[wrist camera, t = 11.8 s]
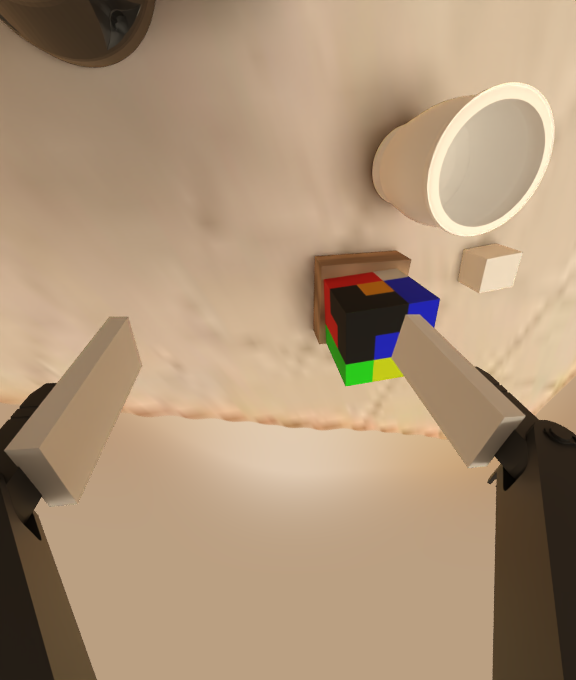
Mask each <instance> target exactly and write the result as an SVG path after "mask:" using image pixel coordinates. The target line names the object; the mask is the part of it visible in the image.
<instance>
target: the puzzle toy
mask: <svg viewBox="0 0 576 680" xmlns="http://www.w3.org/2000/svg"><path fill="white" fill-rule="evenodd" d="M439 301H440V298H438V297H437V296H435V295H434V294H433V293H431V292H430V291H428V290H427V289H426V288H424V287H423V286H421V285H420V284H418V283H417V282H416V281H414V280H413V279H411V278H410V277H409V276H407V275H406V274H404V273H403V272H402V271H400V270H399V269H397V268H396V269H389V270H383V271H376V272H369V273H363V274H356V275H349V276H343V277H336V278H329V279H324V303H325V327H326V343H327V345H328V348H329V350H330V352H331V354H332V357H333V359H334V361H335V363H336V366H337V368H338V370H339V372H340V375H341V377H342V379H343V382H344V384H345V386H351V385H356V384H362V383H368V382H374V381H380V380H386V379H392V378H398V377H404V375H403V374H402V373H401V371H400V370H399V368H398V367H397V365H396V364H395V362H394V361H393V360H392V358H391V357H392V354H393V351H394V348H395V345H396V342H397V339H398V336H399V333H400V330H401V327H402V324H403V321H404V318H405V315H409V314H420V315H421V316H422V317H423V318H424V319H425V320H426V321H427V322H428V323H429V324H430V325H431V326H432V327H433V328H434V326H435V321H436V316H437V311H438V306H439Z"/></svg>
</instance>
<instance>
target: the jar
mask: <svg viewBox="0 0 576 680" xmlns="http://www.w3.org/2000/svg"><path fill="white" fill-rule="evenodd" d="M553 143H554V119H553V114H552V110H551V108H550V105H549V103H548V101H547V100H546V98H545V97H544V96H543V94H542V93H541V92H540V91H538V90H537V89H536V88H534V87H532V86H530V85H528V84H524V83H518V82H511V83H504V84H500V85H497V86H494V87H492V88H489V89H487V90H484V91H482V92H480V93H478V94H477V95H469V96H462V97H457V98H453V99H450V100H447V101H444V102H441V103H439V104H437V105H435V106H433V107H431V108H429V109H427V110H426V111H424V112H422V113H421V114H420V115H418V116H417V117H415V118H413V119H412V120H410V121H409V122H408V123H406V124H404V125H402V126H399V127H397V128H396V129H394V130H393V131H391V132H390V133H389V134H388V135H387V136H386V137H385V138H384V140H383V141H382V142H381V144H380V146H379V147H378V149H377V152H376V154H375V157H374V161H373V167H372V178H373V183H374V186H375V189H376V191H377V193H378V194H379V195H380V196H381V198H383V199H384V200H385V201H387V202H389V203H391V204H392V205H393V206H394V207H395V208H397V209H398V210H399V211H400V212H401V213H403V214H404V215H405V216H407V217H408V218H410V219H412V220H414V221H416V222H418V223H421V224H424V225H428V226H432V227H440V228H441V229H442V230H444V231H446V232H448V233H451V234H454V235H459V236H476V235H480V234H484V233H487V232H489V231H491V230H493V229H495V228H497V227H499V226H501V225H502V224H504V223H505V222H506V221H508V220H509V219H510V218H512V217H513V216H514V215H515V214H516V213H517V212H518V211H519V210H520V209H521V208H522V207H523V206H524V205H525V204H526V202H527V201H528V200H529V199H530V197H531V196H532V195H533V193H534V192H535V190H536V188H537V187H538V185H539V183H540V182H541V180H542V178H543V176H544V174H545V171H546V169H547V166H548V164H549V161H550V157H551V154H552V149H553Z"/></svg>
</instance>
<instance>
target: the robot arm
mask: <svg viewBox="0 0 576 680" xmlns="http://www.w3.org/2000/svg"><path fill="white" fill-rule="evenodd" d="M154 6H155V0H0V19H1V20H2V21H3V22H4V23H5V24H7V25H8V26H9V27H10V28H11V29H12V30H13V31H15V32H16V33H17V34H19V35H20V36H21V37H22V38H24V39H25V40H27V41H28V42H30V43H31V44H33V45H35V46H36V47H38V48H40V49H42V50H43V51H45V52H47V53H49V54H51V55H52V56H54V57H56V58H58V59H61V60H63V61H66V62H68V63H71V64H75V65H79V66H84V67H104V66H109V65H112V64H115V63H117V62H119V61H121V60H123V59H124V58H126V57H127V56H129V55H130V54H131V53H132V52H133V51H134V50H135V49H136V48H137V47H138V45H139V44H140V43H141V41H142V39H143V38H144V36H145V34H146V32H147V30H148V28H149V25H150V22H151V19H152V15H153V11H154ZM391 358H392V360H393V361H394V362H395V364H396V365H397V367H398V368H399V370H400V371H401V373H402V374H403V375H404V377H405V378H406V380H407V381H408V383H409V384H410V385H411V387H412V388H413V390H414V391H415V393H416V394H417V395H418V397H419V398H420V400H421V401H422V403H423V404H424V406H425V407H426V408H427V410H428V411H429V413H430V414H431V416H432V417H433V418H434V420H435V421H436V423H437V424H438V426H439V427H440V428H441V430H442V431H443V433H444V434H445V436H446V437H447V439H448V440H449V441H450V443H451V444H452V446H453V447H454V449H455V450H456V451H457V453H458V454H459V456H460V457H461V459H462V460H463V462H464V463H465V464H466V466H467V467H468V468H474V467H484V466H487V465H488V464H489V462H490V461H491V460H492V459H493V457H494V456H495V457H496V458H497V459H498V461H499V462H500V463H501V464H500V465H499V467H498V468H497V469H496V470H495V472H494V473H493V474H492V475H491V476H490V478H489V479H488V483H489V484H491V483H492V482H493V481H494V480H495V479H497V485H496V490H497V491H496V535H495V586H494V633H493V680H576V435H575V434H574V433H573V432H571V431H570V430H568V429H567V428H565V427H563V426H561V425H559V424H557V423H554V422H551V421H548V420H538V419H537V418H536V417H535V416H534V415H533V414H532V413H531V412H530V411H529V410H528V409H527V408H525V407H524V406H523V405H522V404H521V403H520V402H519V401H518V400H517V399H516V398H515V397H514V396H513V395H511V394H510V393H508V392H507V390H506V389H505V388H504V387H503V386H502V385H499V382H497V381H496V380H495V379H494V378H493V377H492V376H491V375H490V374H488V373H487V372H485V371H483V370H482V369H480V368H478V367H474V366H473V365H472V364H471V363H470V362H469V361H468V360H467V359H466V358H465V357H464V356H463V355H462V354H461V353H460V352H458V351H457V350H456V349H455V348H454V347H453V346H452V345H451V344H450V343H449V342H448V341H447V340H446V339H445V338H444V337H443V336H442V335H441V334H440V333H439V332H438V331H437V330H435V329H434V328H433V327H432V326H431V325H430V324H429V323H428V322H427V321H426V320H425V319H424V318H423V317H422V316H421V315H420V314H409V315H405V318H404V321H403V324H402V327H401V330H400V333H399V336H398V339H397V342H396V345H395V348H394V351H393V354H392V357H391ZM141 367H142V363H141V360H140V356H139V353H138V349H137V346H136V342H135V339H134V335H133V332H132V328H131V325H130V321H129V318H128V317H109V318H108V319H107V321H106V322H105V323H104V324H103V326H102V327H101V328H100V329H99V331H98V332H97V333H96V335H95V336H94V337H93V338H92V340H91V341H90V342H89V343H88V345H87V346H86V347H85V348H84V350H83V351H82V352H81V354H80V355H79V356H78V357H77V359H76V360H75V361H74V362H73V364H72V365H71V366H70V367H69V369H68V370H67V371H66V373H65V374H64V375H63V376H62V378H61V379H60V380H59V381H58V383H46V384H44V385H43V386H42V387H40V388H39V389H37V390H36V391H34V392H33V393H31V394H30V395H29V396H28V398H27V399H26V400H25V401H24V402H23V403H22V404H21V406H20V409H17V410H16V411H15V413H14V414H13V415H12V416H11V419H10V420H8V421H7V422H6V423H5V424H4V425H3V426H2V428H1V429H0V680H97V679H96V676H95V673H94V671H93V668H92V665H91V662H90V660H89V657H88V654H87V651H86V648H85V645H84V643H83V640H82V637H81V634H80V631H79V629H78V626H77V623H76V620H75V617H74V615H73V612H72V609H71V606H70V604H69V601H68V598H67V595H66V592H65V590H64V587H63V584H62V581H61V578H60V575H59V573H58V570H57V567H56V564H55V561H54V559H53V556H52V553H51V550H50V547H49V544H48V542H47V539H46V536H45V533H44V530H43V528H42V525H41V522H40V519H39V516H38V515H37V513H36V512H35V511H34V509H35V507H36V505H37V504H38V502H39V500H40V498H41V497H42V498H43V499H44V500H45V502H46V503H47V504H48V505H49V506H50V507H52V506H63V505H74V504H78V502H79V500H80V498H81V496H82V494H83V492H84V489H85V487H86V485H87V483H88V481H89V479H90V476H91V475H92V472H93V470H94V468H95V466H96V464H97V462H98V459H99V457H100V455H101V453H102V451H103V448H104V447H105V444H106V442H107V440H108V438H109V436H110V434H111V431H112V429H113V427H114V425H115V423H116V421H117V419H118V416H119V414H120V412H121V410H122V408H123V406H124V404H125V401H126V399H127V397H128V395H129V393H130V391H131V388H132V386H133V384H134V382H135V380H136V378H137V376H138V373H139V371H140V369H141Z"/></svg>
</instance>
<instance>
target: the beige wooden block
mask: <svg viewBox="0 0 576 680" xmlns="http://www.w3.org/2000/svg"><path fill="white" fill-rule="evenodd" d="M522 254H523V252H521V251H518V250H515V249H512V248H509V247H506V246H503V245H499V244H496V243H495V244H490V245H485V246H480V247H474V248H469V249H464V250H463V256H462V261H461V266H460V272H459V277H458V282H460V283H462V284H464V285H465V286H467V287H469V288H471V289H473V290H474V291H476V292H478V293H483V292H488V291H493V290H498V289H503V288H508V287H513V284H514V280H515V277H516V274H517V270H518V267H519V264H520V260H521V257H522Z"/></svg>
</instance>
